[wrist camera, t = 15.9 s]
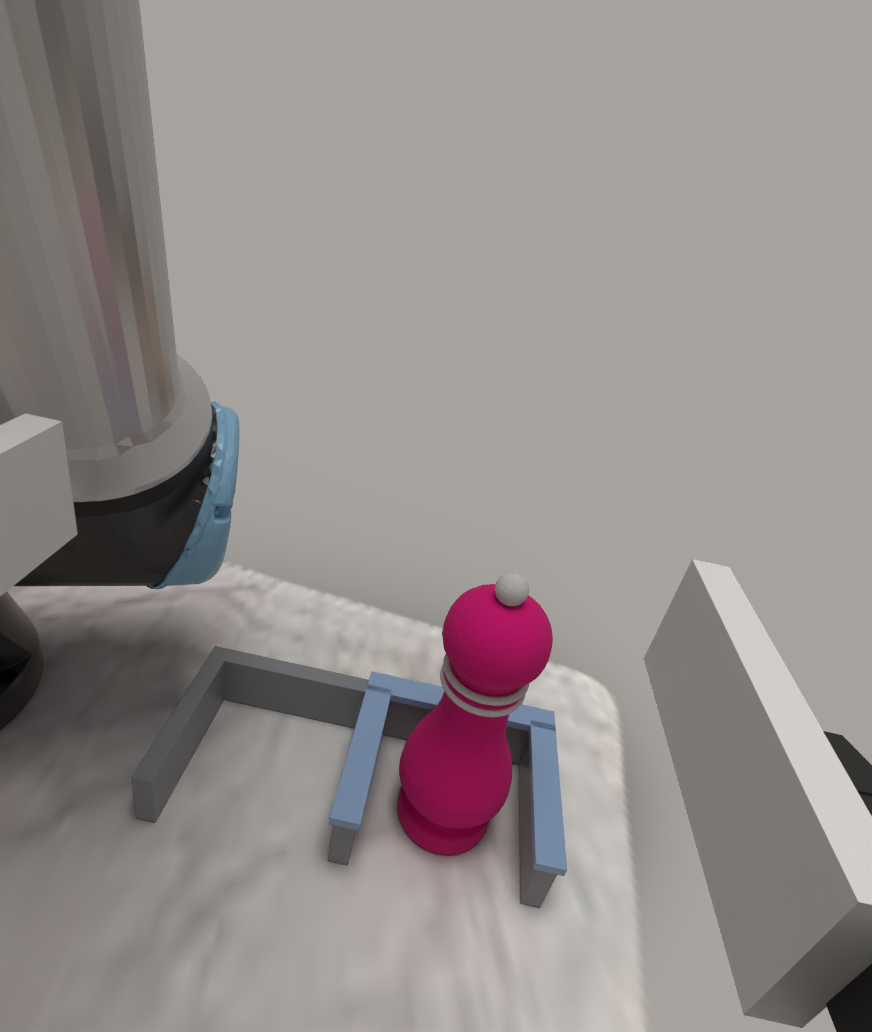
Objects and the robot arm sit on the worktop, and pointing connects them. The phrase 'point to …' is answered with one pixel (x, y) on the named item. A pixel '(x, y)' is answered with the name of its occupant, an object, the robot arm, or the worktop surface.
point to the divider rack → (358, 747)
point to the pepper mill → (472, 716)
